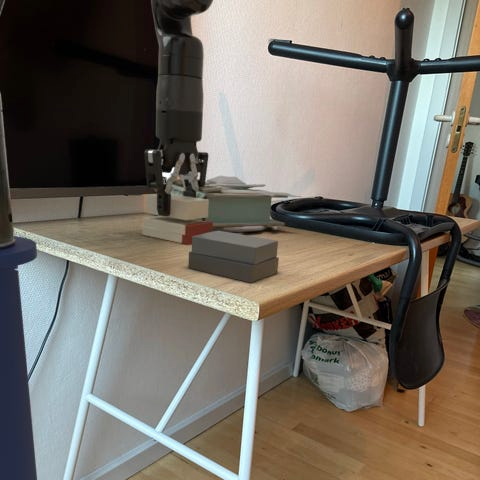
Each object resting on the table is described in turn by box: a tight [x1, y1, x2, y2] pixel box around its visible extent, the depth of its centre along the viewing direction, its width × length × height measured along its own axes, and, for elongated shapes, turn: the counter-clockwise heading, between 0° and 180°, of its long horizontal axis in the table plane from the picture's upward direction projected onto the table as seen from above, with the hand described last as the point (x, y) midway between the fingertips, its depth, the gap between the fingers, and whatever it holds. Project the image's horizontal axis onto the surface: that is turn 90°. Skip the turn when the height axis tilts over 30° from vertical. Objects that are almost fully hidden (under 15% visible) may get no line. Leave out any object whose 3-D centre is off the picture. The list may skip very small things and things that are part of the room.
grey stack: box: [187, 231, 280, 284], centre depth 65 cm, size 7×10×4 cm
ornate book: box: [152, 175, 302, 233], centre depth 102 cm, size 23×10×30 cm
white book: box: [145, 194, 209, 220], centre depth 84 cm, size 6×9×3 cm, turn 57°
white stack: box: [141, 215, 214, 245], centre depth 85 cm, size 7×10×3 cm
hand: (176, 213), depth 84 cm, fingers closed on white book, 6 cm apart
